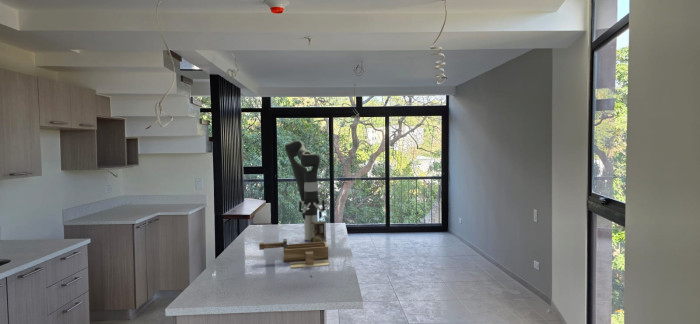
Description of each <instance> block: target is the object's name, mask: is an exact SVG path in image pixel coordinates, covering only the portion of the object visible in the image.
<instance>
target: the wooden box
mask: <svg viewBox="0 0 700 324" xmlns="http://www.w3.org/2000/svg"><path fill="white" fill-rule="evenodd" d="M287 241H288V240H287V238H284V239H283V241H282V242H283V247H282V248H283V263H292V262H294V261H296V262H304V261H306V255H305V252H312V251H313V258H314V261H316V260H320V259H322V260H329V246H328V244H327V241H326V242H313V243H311V242H304V243H303V242H301V243H288V242H287Z"/></svg>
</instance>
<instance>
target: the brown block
mask: <svg viewBox="0 0 700 324" xmlns="http://www.w3.org/2000/svg"><path fill="white" fill-rule="evenodd" d="M258 245H259V246H258V250H261V251H262V250H265V249H277V248H283V241H279V242H278V241H277V242H266V243H265V242H259V244H258Z"/></svg>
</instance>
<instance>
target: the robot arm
mask: <svg viewBox="0 0 700 324" xmlns="http://www.w3.org/2000/svg"><path fill="white" fill-rule="evenodd" d="M284 149H285V152H286V155H287V157H288V160H289V162H290V165H291V169H292V172H293V175H294V179H295V181H296V186H297V188H298V192H299V197H300V200H299V202H298V211H299V213H301V215H302V219H303V220H304V221H303V226H304V240H305V241H310V242H311V229H310V224H311V223H312V222H319V221H318V219H319V220H321V219H322V218H323V217H322V216H323V212H325V211H326V206H325V200H324V199H319V184H318V183H319V182H318V172H319V171H318V170H319V166H320V162H321V158H320V156H319V154H317V153H311V152H310V151H309V150H308V149H307V148H306V146H305V144H304V143H303V142H302V141H301V140H300V139H297V140H293V141H292V142H288V143H287V144H285V145H284ZM296 157H297V158H298V160H299V161H297V160H296ZM308 168H311V169H310V170H308ZM319 204H321V207H320V206H319ZM304 205H305V206H304ZM302 206H304V207H303V209H302Z"/></svg>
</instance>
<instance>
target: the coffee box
mask: <svg viewBox="0 0 700 324" xmlns="http://www.w3.org/2000/svg"><path fill="white" fill-rule="evenodd" d="M326 227H327V223H326V221H318V222H312V223H311V224H310V229H311V241H310V243H313V242H326V243H327V228H326Z"/></svg>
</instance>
